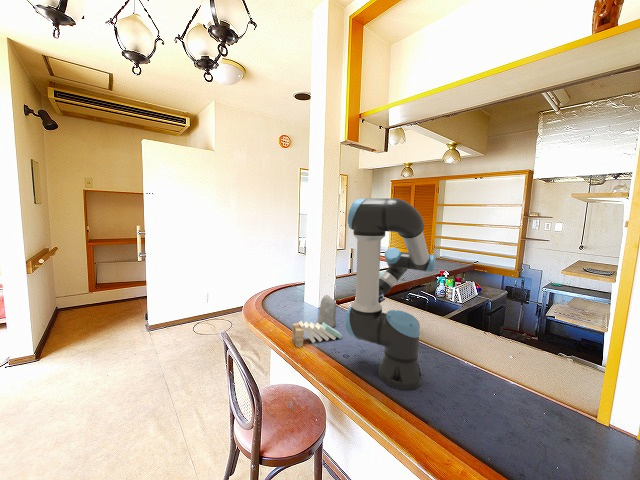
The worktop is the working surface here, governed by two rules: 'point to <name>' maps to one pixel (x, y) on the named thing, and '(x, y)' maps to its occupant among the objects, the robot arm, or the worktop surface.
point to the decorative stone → (327, 311)
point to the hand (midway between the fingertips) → (354, 319)
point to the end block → (297, 334)
